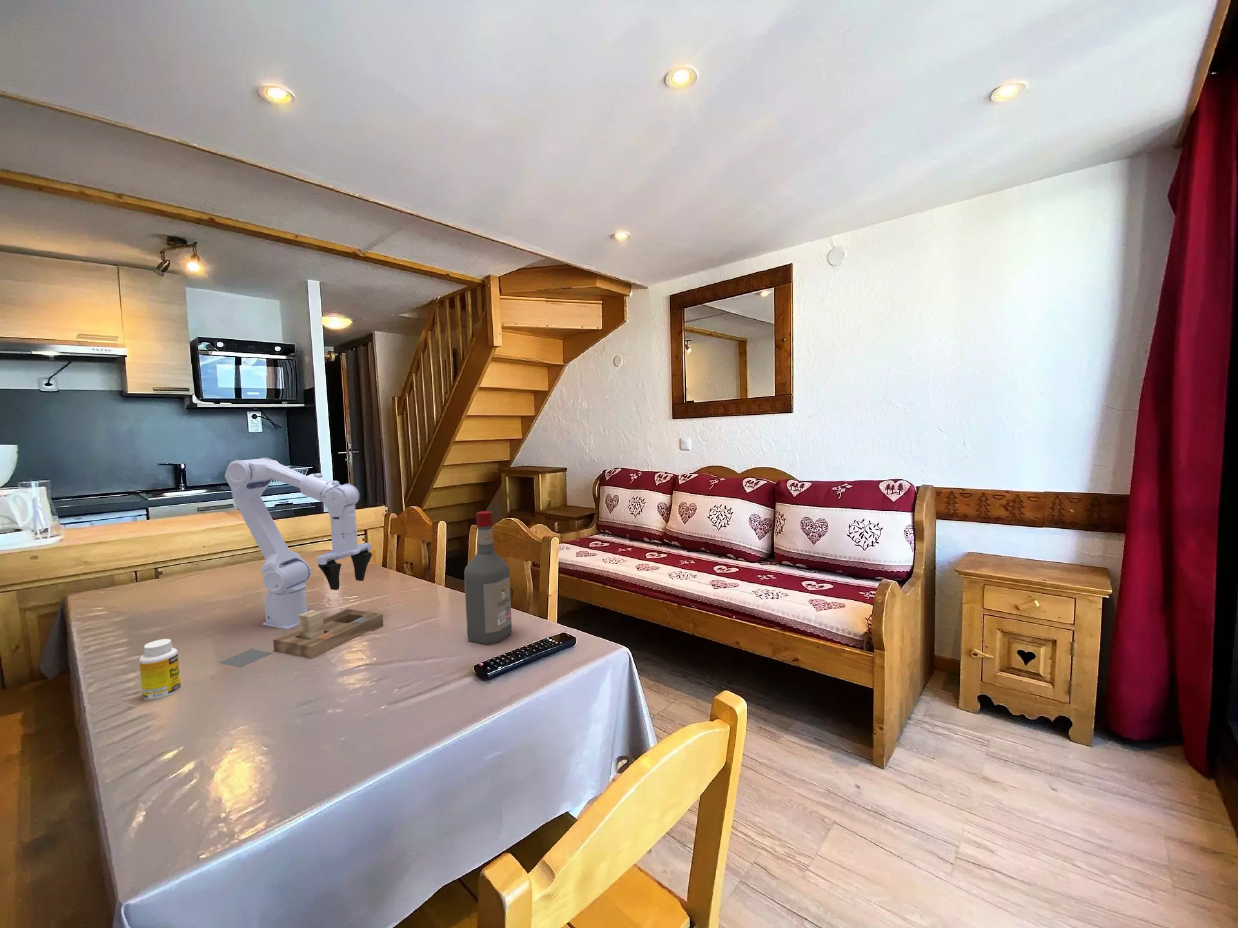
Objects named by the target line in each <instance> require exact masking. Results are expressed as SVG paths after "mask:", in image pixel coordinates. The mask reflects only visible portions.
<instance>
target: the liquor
mask: <svg viewBox="0 0 1238 928" xmlns="http://www.w3.org/2000/svg"><path fill="white" fill-rule="evenodd" d="M475 513H476V516H475V517H476V526H477V544H478V545H477V549H476V550H477V552H476V554H475V555H474V556H473V558H471V560H470V561H469V562H468V564H467V565H466V566H465V568H464V572H463V576H464V595H465V596H464V597H465V598H464V599H465V616H466V634H467V639H468V640H469V642H473V643H478V644H481V645H482V644H483V645H490V644H491V645H492V644H498V643H499V642H501V641H502V640H504V639H506V638H507V637H509V636H510V635H511V634H512V631H513V626H512V605H511V580H510V579H511V578H510V568H509V566H508V564H507V562H506V561H505V560H504V558H502V557H501V556H500V555H499V554H498V553H497V552H496V550H495V548H494V538H493V537H494V536H493V524H494V523H493V522H494V521H493V511H490V510H484V511H483V510H482V511H477V512H475Z"/></svg>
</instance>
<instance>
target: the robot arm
mask: <svg viewBox="0 0 1238 928" xmlns="http://www.w3.org/2000/svg"><path fill="white" fill-rule="evenodd" d="M224 479H225V481H226V482H227V484H228V486H229V487H230V489H231V490H230V491H231V495H232V496H231V497H232V500H233V502H234V504H235V506H236V507H237V509H238V511H239V513H240V515H241V517H242V519H243V520H244V522H245V524H246V526H247V528H248V529H249V531H250V534H251V536H252V537H253V539H254V541H255V543H256V544H257V546H258V549H259V550H260V552H261V553H262V554H261V555H262V556H263V557H264V559H265V561H264V563H263V565H262V566H261V568H260V572H261V574H262V575H263V584H264V586H265V588H266V589H267V590H268V592H266V593H267V594H266V595H265V597H264V601H263V602H264V614H265V622H262V625H263V626H266V627H267V626H268V627H273V628H274V627H275V628H279V629H286V630H289V629H292V628H294V627H297V626H299V615H301V614H303V613H306V612H308V607H307V606H308V605H307V592H306V591H307V590H306V586H307V585H308V584H307V583H308V580H309V579H310V578H311V576H312V568H311V566H310V564H309V563H308V562H307V561H305V560H304V559H303V557H302V556H301V555H300V554H299V553H298V552H296V551H292V550H290V549H289V547H288V545H287V543H286V542H285V539H284V538H283V535H282V534H281V532H280V530H279V528H278V527H277V525H276V523H275V520H274V519H273V517H272V515H271V513H270V511H269V510H268V507H267V506H266V504H265V503H264V500H263V499H262V495H263V492H265V490H266V489H267V488H268V486H270V484H271V483H272V482H273V480H274V481H277V482H281V483H283V484H286V485H289V486H292V487H295V488H299V490H300V492H301V494H302V495H303V496H306V497H308V498H311V499H314V500H316V501H319V502H321V503H324V505H325V507H326V508H327V511H328V515H329V517H330V519H329V520H330V530H331V531H330V532H331V533H330V536H331V549H332V550H331V551H328V552H326V553H324V554H321V555H318V556H316V558H317V562H316V563H317V565H318V566H317V567H318V568H319V569H320V570H321V572H322V574H323V575H324V576H325V578H326V580H327V581H326V582H327V583H328V585H329V589H330V590H331V591H339V590H340V572H341V567H342V563H337V560H341V559H345V558H347V557H350V559H351V560H352V563H353V568H354V569H353V570H354V578H355V581H359V582H364V581H365V576H366V572H367V568H368V565H369V562H370V560H371V559H372V557H373V553H372V552H371V551H372V543H370V542H365V543H360V544H358V543H359V542H358V531H357V513H356V504H357V503H358V502H359V500H360V492H359V490H358V488H357V487H356V486H354V485H353V484H352V483H344V484H340V481H338V480H331V479H328V478H327V477H326V478H325V477H323V474H322V473H319V472H318V473H311V474H308V475H305V474H303V473H300V472H299V471H296V470H295V469H292V468H290V467H288V466H286V465H284V464H282V463H279V462H278V460H274V459H271V458H269V457H260V458H254V459H243V460H240V459H235V460H232V461H231V462H230V463H228V465H227V468H226V471H225V474H224Z"/></svg>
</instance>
